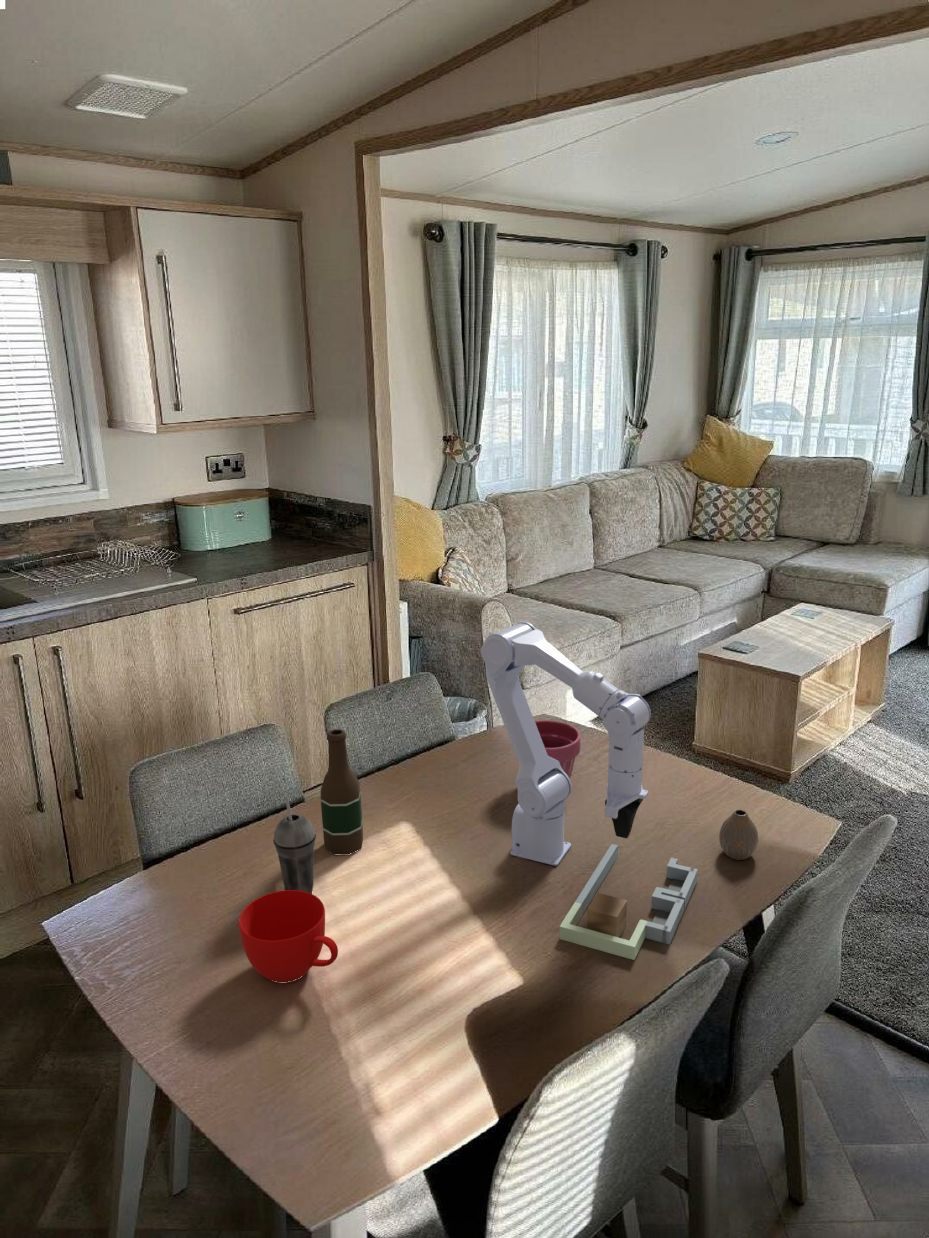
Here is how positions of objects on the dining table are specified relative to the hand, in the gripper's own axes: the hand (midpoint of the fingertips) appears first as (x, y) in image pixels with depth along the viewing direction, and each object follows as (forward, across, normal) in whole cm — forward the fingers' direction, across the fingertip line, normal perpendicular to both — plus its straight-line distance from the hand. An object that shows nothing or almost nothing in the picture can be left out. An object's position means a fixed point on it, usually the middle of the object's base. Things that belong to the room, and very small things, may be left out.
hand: (622, 835), depth 158 cm
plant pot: (+10, +27, +26) cm, 38 cm away
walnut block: (+9, -14, -2) cm, 17 cm away
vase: (+10, +18, -17) cm, 26 cm away
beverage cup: (+10, -28, +49) cm, 58 cm away
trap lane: (+9, -6, -4) cm, 12 cm away
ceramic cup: (+10, -45, +37) cm, 59 cm away
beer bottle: (+10, -12, +52) cm, 54 cm away
